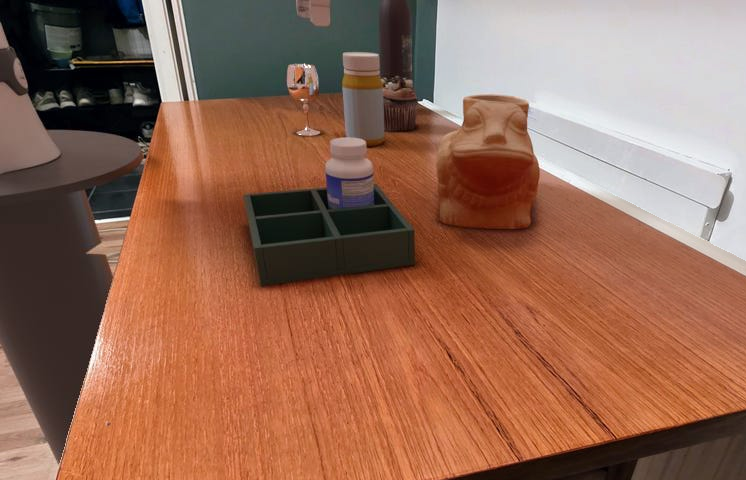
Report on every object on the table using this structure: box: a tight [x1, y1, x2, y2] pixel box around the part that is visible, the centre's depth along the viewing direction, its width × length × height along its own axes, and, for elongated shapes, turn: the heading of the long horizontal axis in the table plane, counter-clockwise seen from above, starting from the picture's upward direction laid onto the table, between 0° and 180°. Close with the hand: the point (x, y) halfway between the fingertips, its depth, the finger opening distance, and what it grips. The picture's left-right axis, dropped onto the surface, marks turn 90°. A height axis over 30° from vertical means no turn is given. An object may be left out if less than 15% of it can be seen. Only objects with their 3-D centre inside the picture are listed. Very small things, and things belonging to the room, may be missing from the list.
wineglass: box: [286, 63, 321, 137], centre depth 102 cm, size 6×6×12 cm
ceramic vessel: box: [435, 93, 541, 230], centre depth 72 cm, size 14×26×15 cm, turn 0°
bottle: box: [341, 51, 385, 147], centre depth 98 cm, size 7×7×15 cm
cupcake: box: [380, 75, 419, 132], centre depth 111 cm, size 10×10×10 cm
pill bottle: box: [324, 136, 375, 209], centre depth 64 cm, size 5×5×10 cm
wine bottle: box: [378, 0, 413, 81], centre depth 120 cm, size 7×7×30 cm
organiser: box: [242, 183, 416, 287], centre depth 61 cm, size 16×16×4 cm
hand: (313, 21), depth 58 cm, fingers open, 8 cm apart
